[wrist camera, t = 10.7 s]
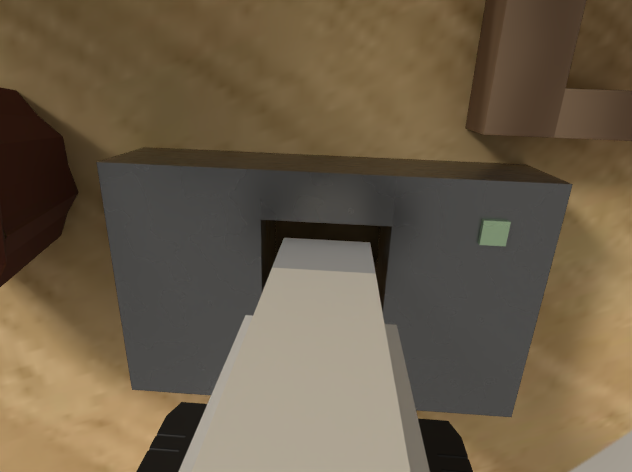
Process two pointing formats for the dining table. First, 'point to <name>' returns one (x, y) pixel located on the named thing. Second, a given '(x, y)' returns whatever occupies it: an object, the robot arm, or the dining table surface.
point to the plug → (311, 372)
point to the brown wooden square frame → (539, 76)
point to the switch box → (339, 208)
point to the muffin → (30, 184)
